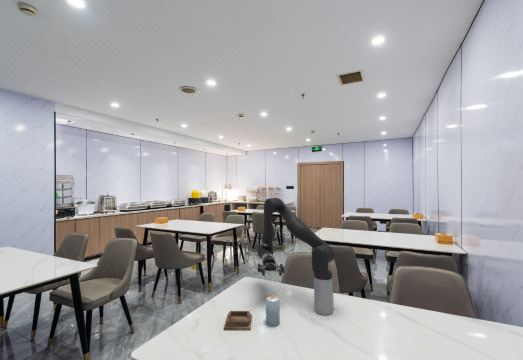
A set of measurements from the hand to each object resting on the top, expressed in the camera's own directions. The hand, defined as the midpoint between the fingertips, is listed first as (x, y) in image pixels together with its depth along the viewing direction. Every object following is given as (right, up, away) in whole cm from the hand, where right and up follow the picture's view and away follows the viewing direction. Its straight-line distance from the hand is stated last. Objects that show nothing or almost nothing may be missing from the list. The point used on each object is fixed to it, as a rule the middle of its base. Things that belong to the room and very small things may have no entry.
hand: (272, 274), depth 126 cm
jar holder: (-16, -19, -11) cm, 27 cm away
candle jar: (0, -18, -11) cm, 22 cm away
